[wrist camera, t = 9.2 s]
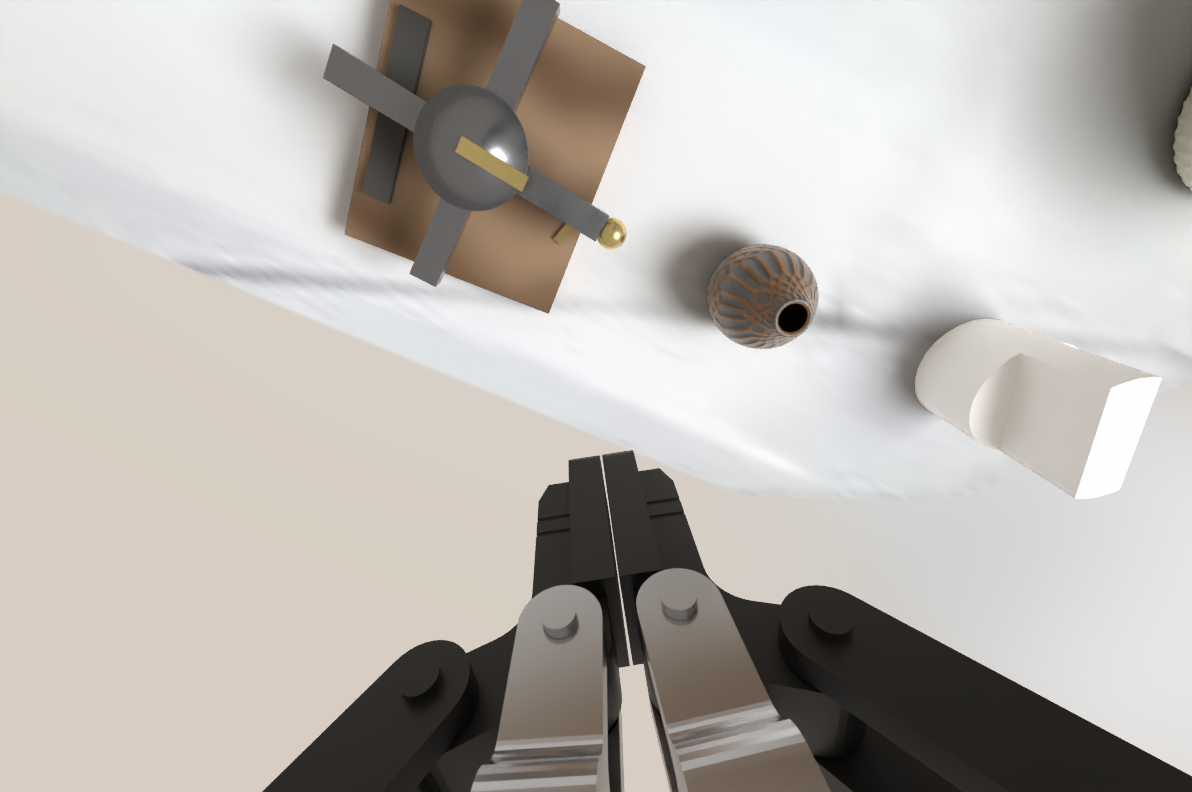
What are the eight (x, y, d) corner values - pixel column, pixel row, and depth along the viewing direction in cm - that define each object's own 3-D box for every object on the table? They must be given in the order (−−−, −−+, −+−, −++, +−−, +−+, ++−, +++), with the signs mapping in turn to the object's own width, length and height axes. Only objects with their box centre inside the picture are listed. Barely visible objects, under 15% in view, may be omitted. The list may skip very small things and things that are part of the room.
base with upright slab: (1008, 402, 42) (1163, 483, 31) (909, 424, 42) (1029, 511, 32) (1029, 307, 38) (1215, 362, 27) (920, 331, 38) (1061, 395, 28)
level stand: (414, -51, 26) (399, -74, 23) (640, 72, 29) (647, 64, 27) (356, 230, 32) (340, 235, 29) (549, 306, 35) (548, 316, 33)
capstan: (317, 204, 29) (261, 213, 23) (409, -84, 23) (363, -161, 18) (562, 332, 34) (562, 365, 28) (684, 117, 28) (714, 105, 23)
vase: (697, 333, 37) (734, 378, 29) (696, 243, 34) (738, 266, 26) (782, 323, 37) (842, 365, 29) (790, 233, 34) (859, 252, 26)
